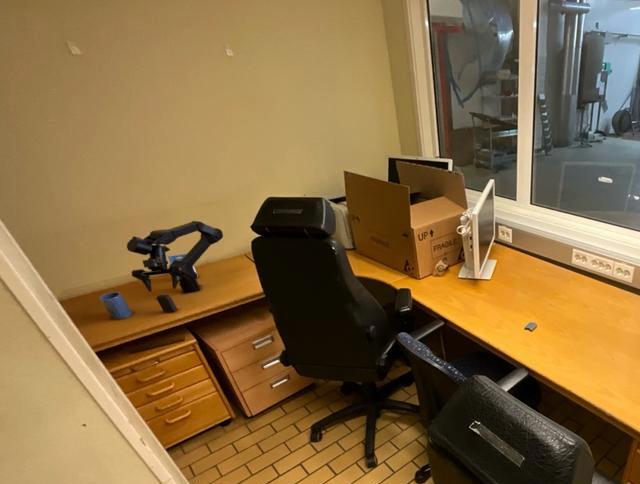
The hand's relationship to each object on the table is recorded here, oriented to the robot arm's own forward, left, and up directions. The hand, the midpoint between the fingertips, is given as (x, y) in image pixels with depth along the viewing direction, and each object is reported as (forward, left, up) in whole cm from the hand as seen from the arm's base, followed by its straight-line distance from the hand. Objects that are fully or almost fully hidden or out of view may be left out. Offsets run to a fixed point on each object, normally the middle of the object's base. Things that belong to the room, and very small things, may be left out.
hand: (162, 290), depth 176 cm
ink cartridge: (0, +3, -10) cm, 10 cm away
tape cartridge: (-4, -33, -10) cm, 35 cm away
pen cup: (+19, -2, -9) cm, 21 cm away
